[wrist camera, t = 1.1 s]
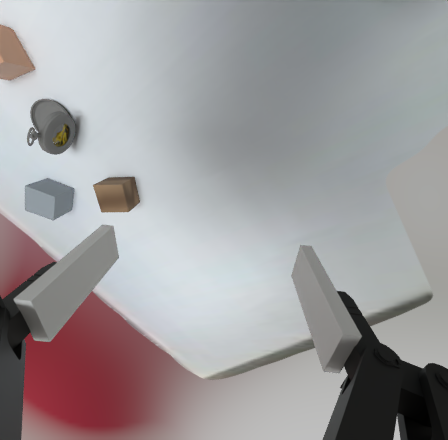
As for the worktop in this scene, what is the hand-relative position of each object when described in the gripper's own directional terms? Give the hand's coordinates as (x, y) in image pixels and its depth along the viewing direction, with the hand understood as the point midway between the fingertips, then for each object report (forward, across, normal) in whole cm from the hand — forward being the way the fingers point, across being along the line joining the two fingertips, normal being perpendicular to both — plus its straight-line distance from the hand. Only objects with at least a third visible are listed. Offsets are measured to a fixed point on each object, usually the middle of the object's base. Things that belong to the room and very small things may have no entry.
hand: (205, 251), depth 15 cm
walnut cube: (+26, -19, -6) cm, 33 cm away
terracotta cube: (+26, -34, +14) cm, 45 cm away
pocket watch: (+26, -28, +4) cm, 39 cm away
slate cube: (+26, -32, -8) cm, 42 cm away
